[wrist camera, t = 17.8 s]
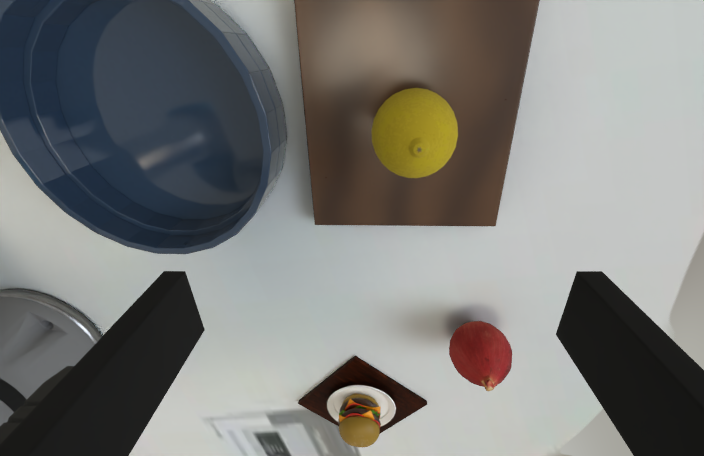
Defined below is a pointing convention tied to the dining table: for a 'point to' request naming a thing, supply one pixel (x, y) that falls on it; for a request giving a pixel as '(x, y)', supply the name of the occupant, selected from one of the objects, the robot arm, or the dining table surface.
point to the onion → (481, 354)
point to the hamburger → (361, 402)
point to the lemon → (414, 133)
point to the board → (405, 73)
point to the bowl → (141, 117)
